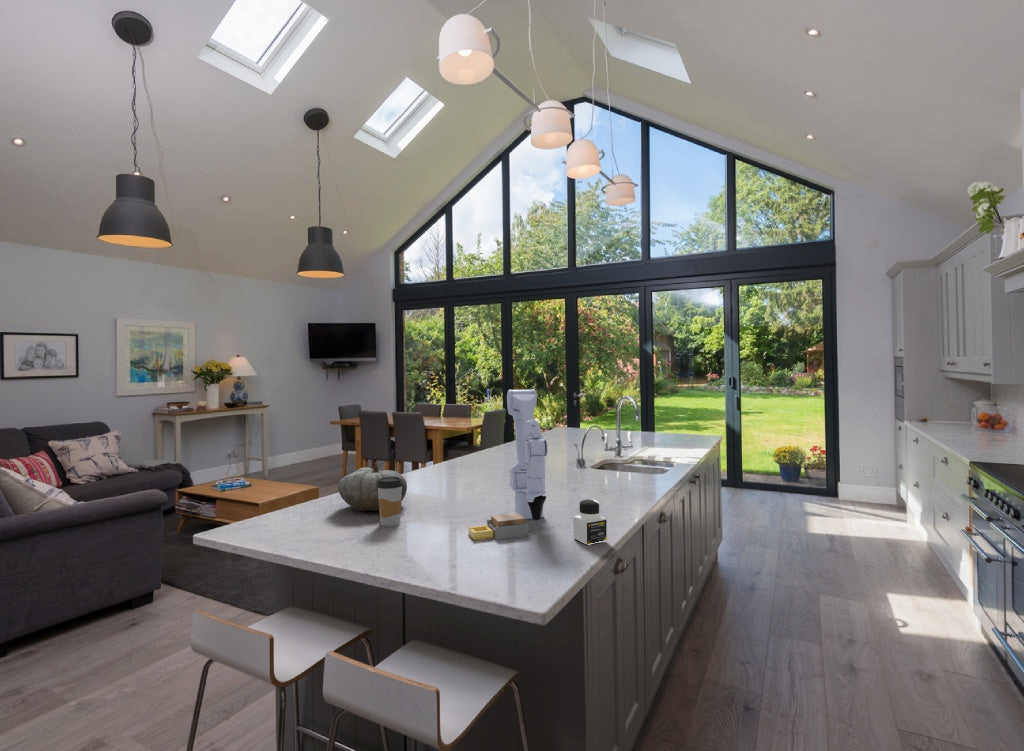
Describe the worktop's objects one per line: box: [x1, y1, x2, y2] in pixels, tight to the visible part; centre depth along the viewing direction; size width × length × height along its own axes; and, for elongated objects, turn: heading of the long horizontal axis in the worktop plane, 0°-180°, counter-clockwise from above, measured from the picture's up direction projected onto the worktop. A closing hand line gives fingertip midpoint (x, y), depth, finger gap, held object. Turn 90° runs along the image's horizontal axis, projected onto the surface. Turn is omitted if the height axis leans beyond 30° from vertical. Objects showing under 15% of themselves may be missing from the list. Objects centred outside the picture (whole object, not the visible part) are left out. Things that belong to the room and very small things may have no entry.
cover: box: [490, 512, 527, 527], centre depth 171 cm, size 9×7×2 cm
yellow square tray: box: [468, 524, 494, 541], centre depth 168 cm, size 6×6×2 cm
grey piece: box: [486, 519, 530, 540], centre depth 171 cm, size 10×9×4 cm
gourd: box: [337, 462, 408, 512], centre depth 204 cm, size 25×25×17 cm
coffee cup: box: [377, 477, 403, 528], centre depth 182 cm, size 8×8×15 cm
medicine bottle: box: [573, 498, 608, 544], centre depth 163 cm, size 7×7×12 cm
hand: (536, 519), depth 175 cm, fingers closed
